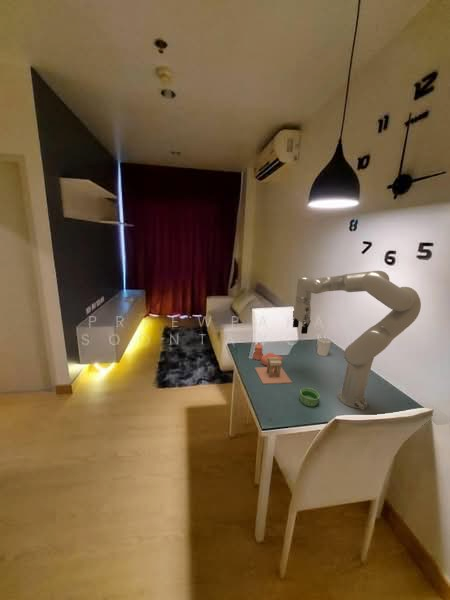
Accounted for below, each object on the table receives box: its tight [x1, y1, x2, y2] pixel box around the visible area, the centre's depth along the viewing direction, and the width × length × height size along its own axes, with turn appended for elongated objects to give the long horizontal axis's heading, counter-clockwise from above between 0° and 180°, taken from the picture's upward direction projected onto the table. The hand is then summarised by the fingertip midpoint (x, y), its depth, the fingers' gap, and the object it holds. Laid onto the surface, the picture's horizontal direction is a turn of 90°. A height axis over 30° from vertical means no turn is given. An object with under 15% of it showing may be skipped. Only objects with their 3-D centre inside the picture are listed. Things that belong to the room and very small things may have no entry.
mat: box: [254, 366, 293, 385], centre depth 138 cm, size 16×16×1 cm
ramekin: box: [299, 387, 321, 407], centre depth 118 cm, size 9×9×4 cm
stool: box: [266, 357, 283, 377], centre depth 137 cm, size 6×6×9 cm
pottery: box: [252, 342, 284, 369], centre depth 153 cm, size 18×10×10 cm, turn 46°
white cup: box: [316, 337, 332, 357], centre depth 167 cm, size 8×8×10 cm
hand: (299, 330), depth 135 cm, fingers open, 9 cm apart
